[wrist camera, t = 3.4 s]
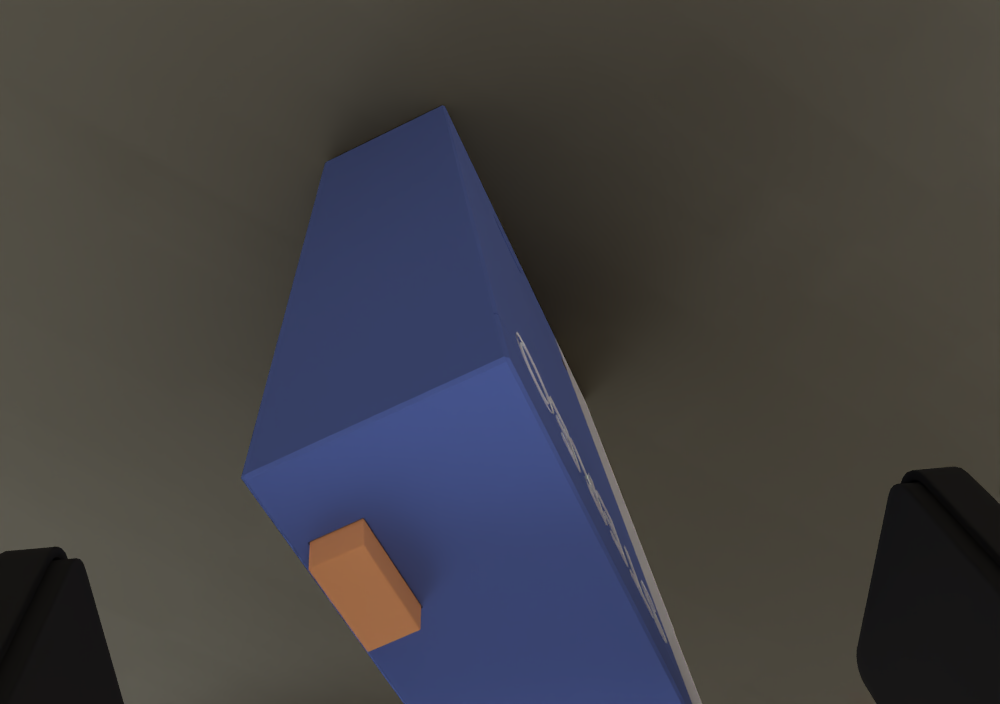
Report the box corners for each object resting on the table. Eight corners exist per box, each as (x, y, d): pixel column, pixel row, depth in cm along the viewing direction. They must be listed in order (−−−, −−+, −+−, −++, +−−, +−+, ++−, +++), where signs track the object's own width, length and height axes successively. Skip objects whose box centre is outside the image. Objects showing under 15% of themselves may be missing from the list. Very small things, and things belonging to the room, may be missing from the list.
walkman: (322, 162, 19) (228, 504, 8) (444, 103, 19) (515, 374, 8) (483, 451, 22) (566, 959, 11) (588, 404, 22) (774, 880, 11)
